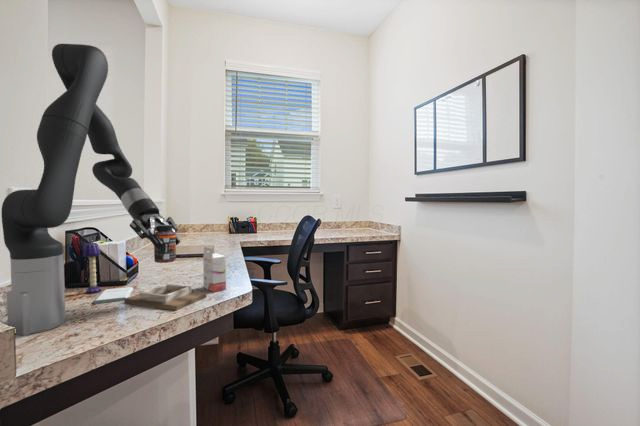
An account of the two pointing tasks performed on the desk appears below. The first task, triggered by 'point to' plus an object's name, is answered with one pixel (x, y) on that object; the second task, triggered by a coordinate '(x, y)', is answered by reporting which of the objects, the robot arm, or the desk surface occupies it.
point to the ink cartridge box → (214, 270)
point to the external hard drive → (114, 295)
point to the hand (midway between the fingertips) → (169, 244)
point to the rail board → (166, 297)
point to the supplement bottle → (165, 245)
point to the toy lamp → (92, 266)
